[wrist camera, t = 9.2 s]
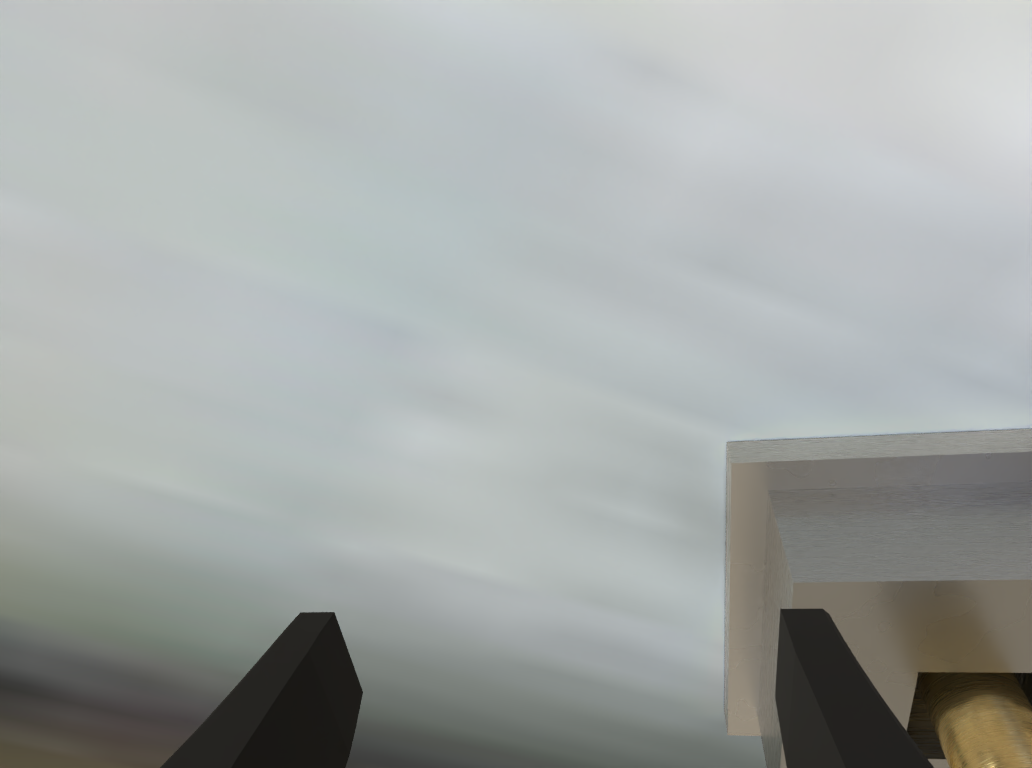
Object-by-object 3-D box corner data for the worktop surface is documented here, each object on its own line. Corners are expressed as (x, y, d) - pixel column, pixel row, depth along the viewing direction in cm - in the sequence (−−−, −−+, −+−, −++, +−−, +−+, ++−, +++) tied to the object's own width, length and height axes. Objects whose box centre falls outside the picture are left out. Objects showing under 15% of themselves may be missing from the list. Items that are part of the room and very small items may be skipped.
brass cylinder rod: (948, 572, 22) (1102, 864, 15) (992, 617, 22) (1157, 915, 16) (874, 609, 23) (985, 897, 16) (918, 651, 23) (1043, 945, 17)
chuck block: (1201, 421, 19) (1345, 540, 16) (1087, 715, 25) (1171, 853, 22) (726, 442, 21) (751, 552, 18) (724, 710, 27) (742, 836, 24)
